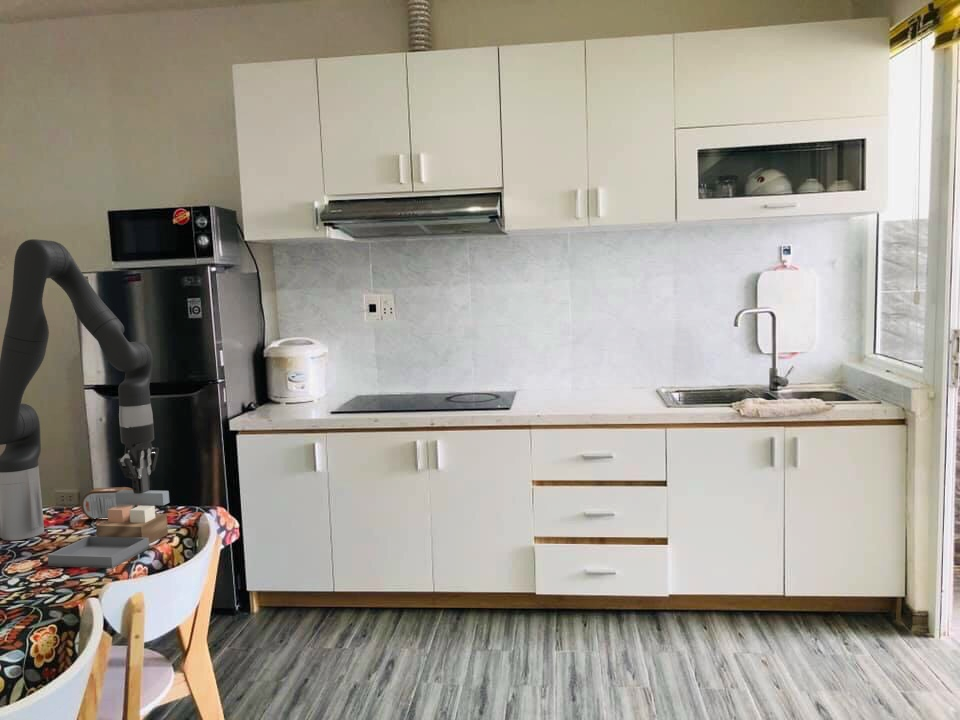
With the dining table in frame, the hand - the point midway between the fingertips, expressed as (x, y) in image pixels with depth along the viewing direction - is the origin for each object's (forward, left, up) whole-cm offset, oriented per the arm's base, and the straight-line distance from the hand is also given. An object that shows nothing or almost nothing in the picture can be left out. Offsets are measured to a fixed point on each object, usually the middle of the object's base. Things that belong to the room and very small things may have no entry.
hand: (141, 491), depth 185 cm
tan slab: (0, -5, -11) cm, 12 cm away
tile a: (-3, -5, -6) cm, 8 cm away
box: (0, -16, -11) cm, 20 cm away
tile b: (+3, -5, -6) cm, 8 cm away
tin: (-18, +11, -11) cm, 24 cm away
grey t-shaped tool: (0, 0, -3) cm, 3 cm away
